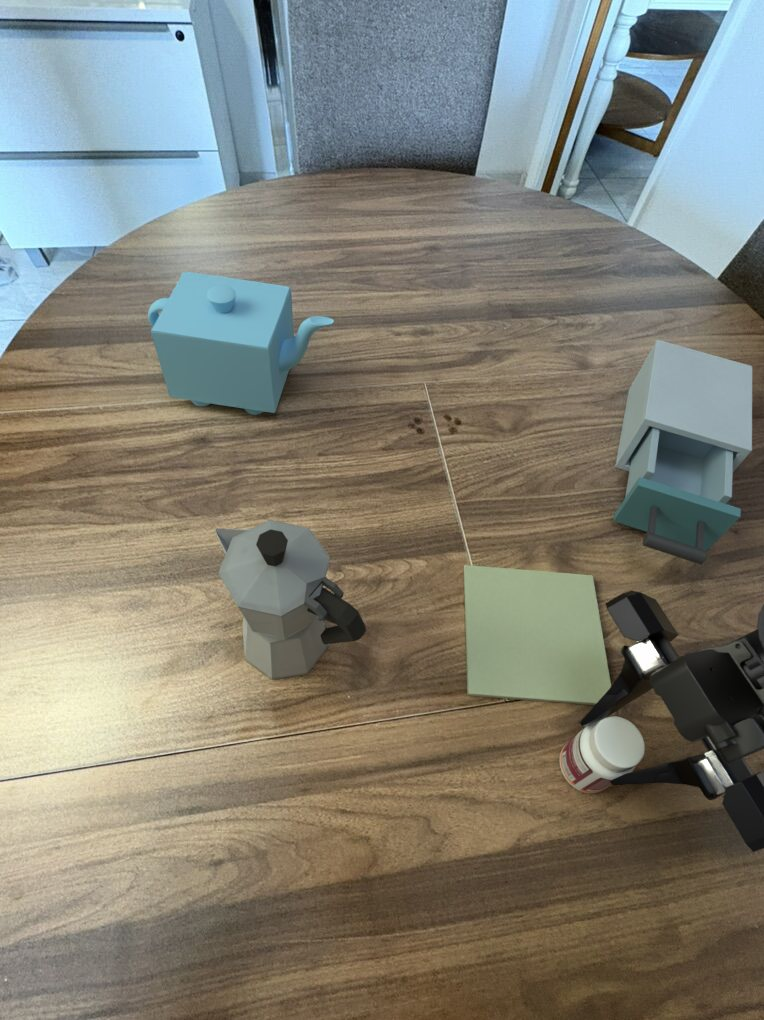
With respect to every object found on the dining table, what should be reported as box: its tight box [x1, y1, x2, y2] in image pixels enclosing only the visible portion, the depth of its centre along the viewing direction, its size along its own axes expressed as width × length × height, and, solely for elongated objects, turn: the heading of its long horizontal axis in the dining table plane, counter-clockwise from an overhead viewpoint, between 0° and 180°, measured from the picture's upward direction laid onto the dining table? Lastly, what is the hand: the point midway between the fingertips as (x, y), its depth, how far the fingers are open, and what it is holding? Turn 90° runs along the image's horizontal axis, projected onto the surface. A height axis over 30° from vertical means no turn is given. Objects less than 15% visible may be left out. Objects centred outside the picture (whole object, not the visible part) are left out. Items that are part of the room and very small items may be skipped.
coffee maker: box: [214, 519, 367, 681], centre depth 53 cm, size 15×9×18 cm, turn 56°
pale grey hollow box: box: [614, 339, 753, 473], centre depth 76 cm, size 15×12×9 cm
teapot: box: [147, 270, 335, 416], centre depth 74 cm, size 22×11×14 cm, turn 82°
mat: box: [463, 564, 612, 706], centre depth 62 cm, size 14×14×1 cm
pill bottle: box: [558, 715, 646, 794], centre depth 52 cm, size 5×5×8 cm
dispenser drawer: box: [612, 426, 742, 565], centre depth 69 cm, size 19×11×7 cm, turn 160°
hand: (596, 752), depth 50 cm, fingers closed on pill bottle, 4 cm apart
